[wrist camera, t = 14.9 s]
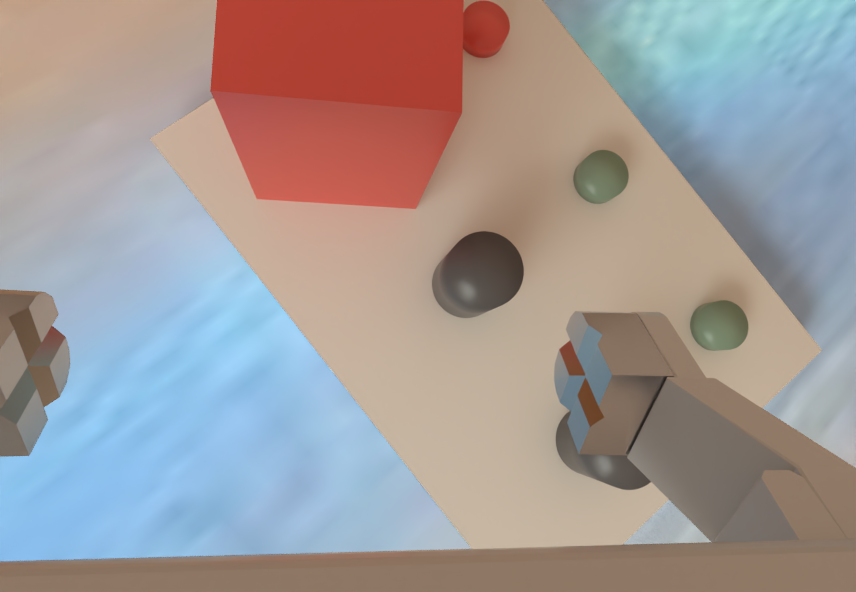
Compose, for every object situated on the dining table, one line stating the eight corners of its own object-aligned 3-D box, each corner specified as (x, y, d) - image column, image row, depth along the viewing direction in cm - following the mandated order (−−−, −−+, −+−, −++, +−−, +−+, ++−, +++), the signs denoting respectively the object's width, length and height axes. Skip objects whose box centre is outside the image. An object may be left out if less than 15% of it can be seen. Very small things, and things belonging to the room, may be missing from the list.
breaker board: (162, 154, 22) (118, 98, 18) (474, -48, 25) (504, -140, 21) (521, 612, 22) (569, 671, 17) (792, 352, 25) (892, 346, 20)
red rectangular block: (256, 198, 21) (210, 90, 13) (265, 49, 22) (227, -138, 14) (415, 208, 22) (462, 112, 14) (419, 64, 22) (465, -105, 15)
